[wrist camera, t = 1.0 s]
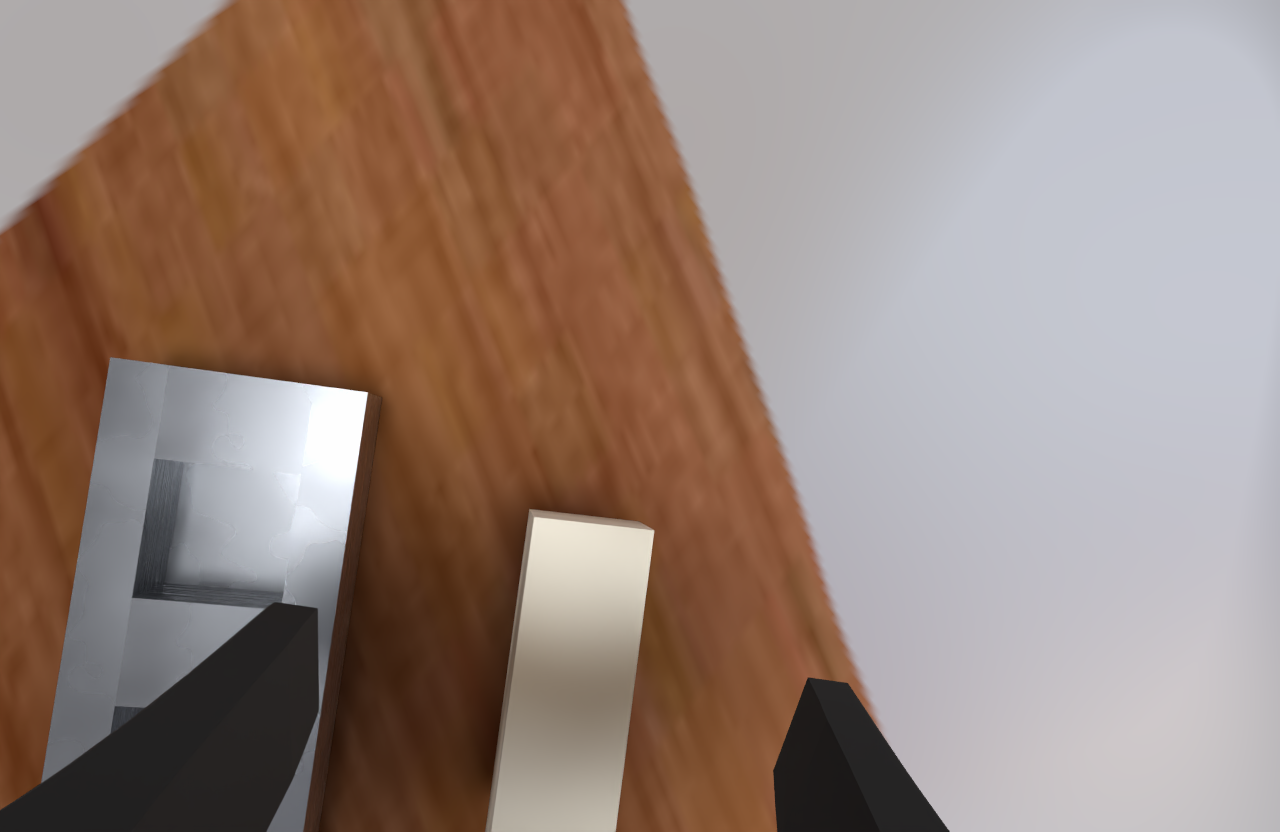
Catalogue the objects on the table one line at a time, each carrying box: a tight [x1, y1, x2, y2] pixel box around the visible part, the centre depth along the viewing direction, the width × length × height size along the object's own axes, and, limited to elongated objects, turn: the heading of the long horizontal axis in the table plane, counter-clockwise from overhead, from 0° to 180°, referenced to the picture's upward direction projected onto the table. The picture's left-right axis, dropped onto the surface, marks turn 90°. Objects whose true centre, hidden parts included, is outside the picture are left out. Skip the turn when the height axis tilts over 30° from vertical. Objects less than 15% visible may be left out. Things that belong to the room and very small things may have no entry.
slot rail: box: [41, 358, 382, 832], centre depth 21 cm, size 14×6×3 cm, turn 172°
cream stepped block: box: [485, 509, 654, 832], centre depth 21 cm, size 9×3×5 cm, turn 172°
